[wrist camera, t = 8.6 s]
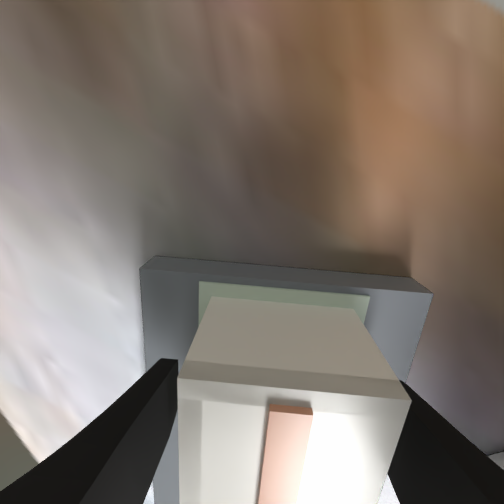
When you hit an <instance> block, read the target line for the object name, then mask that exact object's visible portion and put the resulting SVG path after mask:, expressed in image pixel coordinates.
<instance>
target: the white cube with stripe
mask: <svg viewBox="0 0 504 504" xmlns="http://www.w3.org/2000/svg"><path fill="white" fill-rule="evenodd" d="M177 395H178V449H179V503H180V504H377V503H378V500H379V497H380V494H381V491H382V488H383V485H384V482H385V479H386V476H387V473H388V470H389V467H390V464H391V461H392V458H393V455H394V452H395V449H396V446H397V443H398V440H399V437H400V434H401V431H402V428H403V425H404V422H405V419H406V416H407V413H408V410H409V407H410V404H411V401H412V400H411V398H410V397H409V395H408V394H407V392H406V391H405V389H404V387H403V386H402V384H401V383H400V381H399V380H398V378H397V376H396V375H395V373H394V372H393V370H392V369H391V367H390V365H389V364H388V362H387V361H386V359H385V358H384V356H383V354H382V353H381V351H380V350H379V348H378V346H377V345H376V343H375V342H374V340H373V339H372V337H371V335H370V334H369V332H368V331H367V329H366V328H365V326H364V324H363V323H362V321H361V320H360V318H359V317H358V315H357V313H356V312H355V310H354V309H351V308H339V307H328V306H317V305H305V304H294V303H283V302H271V301H260V300H249V299H237V298H226V297H215V296H211V299H210V301H209V304H208V306H207V308H206V311H205V313H204V315H203V318H202V320H201V323H200V325H199V327H198V330H197V332H196V334H195V337H194V339H193V342H192V344H191V346H190V349H189V351H188V354H187V356H186V358H185V361H184V363H183V365H182V368H181V370H180V373H179V375H178V377H177Z"/></svg>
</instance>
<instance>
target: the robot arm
mask: <svg viewBox="0 0 504 504" xmlns="http://www.w3.org/2000/svg"><path fill="white" fill-rule="evenodd" d="M178 375H179V373H178V359H167V358H161V359H159V360H158V361H157V362H156V363H155V364H154V365H153V366H152V367H151V368H150V369H149V370H148V371H147V372H146V373H145V374H144V375H143V376H142V377H141V378H140V379H139V380H138V381H137V382H135V383H134V384H133V385H132V386H131V387H130V388H129V389H128V390H127V391H126V392H125V393H124V394H123V395H122V396H120V397H119V398H118V399H117V400H116V401H115V402H114V403H113V404H112V405H111V406H110V407H108V408H107V409H106V410H105V411H104V412H103V413H102V414H100V415H99V416H98V417H97V418H96V419H95V420H93V421H92V422H91V423H90V424H89V425H87V426H86V427H85V428H84V429H83V430H82V431H80V432H79V433H78V434H77V435H76V436H74V437H73V438H72V439H71V440H69V441H68V442H67V443H66V444H64V445H63V446H62V447H61V448H59V449H58V450H57V451H55V452H54V453H53V454H51V455H50V456H49V457H47V458H46V459H45V460H44V461H42V462H41V463H40V464H38V465H37V466H36V467H34V468H33V469H31V470H30V471H29V472H27V473H26V474H24V475H23V476H22V477H20V478H19V479H17V480H16V481H15V482H13V483H12V484H10V485H9V486H7V487H6V488H5V489H3V490H2V491H0V504H143V502H144V500H145V497H146V495H147V492H148V490H149V487H150V485H151V482H152V480H153V477H154V475H155V472H156V470H157V467H158V465H159V462H160V460H161V457H162V455H163V452H164V450H165V447H166V445H167V442H168V440H169V437H170V434H171V431H172V427H173V424H174V421H175V417H176V413H177V410H178V395H177V377H178ZM399 381H400V383H401V384H402V386H403V387H404V389H405V391H406V392H407V394H408V395H409V397H410V398H411V400H412V401H411V404H410V407H409V410H408V413H407V416H406V419H405V422H404V425H403V428H402V431H401V434H400V437H399V440H398V443H397V446H396V449H395V452H394V455H393V458H392V461H391V464H390V467H389V470H388V476H389V478H390V480H391V483H392V485H393V488H394V490H395V493H396V495H397V498H398V500H399V502H400V504H504V470H503V469H502V468H501V467H500V466H498V465H497V464H496V463H495V462H494V461H492V460H491V459H490V458H489V457H488V456H486V455H485V454H484V453H483V452H482V451H481V450H479V449H478V448H477V447H476V446H475V445H474V444H473V443H471V442H470V441H469V440H468V439H467V438H466V437H465V436H463V435H462V434H461V433H460V432H459V431H458V430H457V429H456V428H454V427H453V426H452V425H451V424H450V423H449V422H448V421H447V420H445V419H444V418H443V417H442V416H441V415H440V414H439V413H438V412H437V411H436V410H434V409H433V408H432V407H431V406H430V405H429V404H428V403H427V402H426V401H425V400H423V399H422V398H421V397H420V396H419V395H418V394H417V393H416V392H415V391H413V390H412V389H411V388H410V387H409V386H408V385H407V384H405V383H404V382H403V381H402V380H399Z"/></svg>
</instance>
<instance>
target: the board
mask: <svg viewBox="0 0 504 504" xmlns="http://www.w3.org/2000/svg"><path fill="white" fill-rule="evenodd" d="M139 270H140V286H141V301H142V317H143V332H144V348H145V363H146V372H147V371H148V370H149V369H150V368H151V367H152V366H153V365H154V364H155V363H156V362H157V361H158V360H159V359H161V358H167V359H178V373H180V370H181V368H182V365H183V363H184V361H185V358H186V356H187V354H188V351H189V349H190V346H191V344H192V342H193V339H194V337H195V334H196V332H197V330H198V327H199V325H200V323H201V320H202V318H203V315H204V313H205V311H206V308H207V306H208V304H209V301H210V299H211V296H215V297H226V298H237V299H249V300H260V301H271V302H283V303H294V304H305V305H317V306H328V307H339V308H351V309H354V310H355V312H356V313H357V315H358V317H359V318H360V320H361V321H362V323H363V324H364V326H365V328H366V329H367V331H368V332H369V334H370V335H371V337H372V339H373V340H374V342H375V343H376V345H377V346H378V348H379V350H380V351H381V353H382V354H383V356H384V358H385V359H386V361H387V362H388V364H389V365H390V367H391V369H392V370H393V372H394V373H395V375H396V376H397V378H398V380H402V381H403V382H404V383H406V380H407V377H408V373H409V370H410V367H411V364H412V361H413V358H414V354H415V351H416V348H417V345H418V342H419V339H420V335H421V332H422V329H423V326H424V323H425V320H426V317H427V313H428V310H429V307H430V304H431V301H432V298H433V293H432V292H430V291H429V290H428V289H426V288H425V287H424V286H422V285H421V284H420V283H418V282H417V281H416V280H414V279H413V278H409V277H397V276H386V275H374V274H362V273H350V272H338V271H326V270H315V269H303V268H291V267H279V266H267V265H256V264H244V263H232V262H220V261H208V260H196V259H185V258H173V257H161V256H155V257H153V258H152V259H151V260H150V261H148V262H147V263H146V264H145V265H143V266H142V267H141V268H140V269H139ZM153 488H154V504H180V503H179V449H178V410H177V413H176V417H175V421H174V424H173V427H172V431H171V434H170V437H169V440H168V442H167V445H166V447H165V450H164V452H163V455H162V457H161V460H160V462H159V465H158V467H157V470H156V472H155V475H154V477H153Z"/></svg>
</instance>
